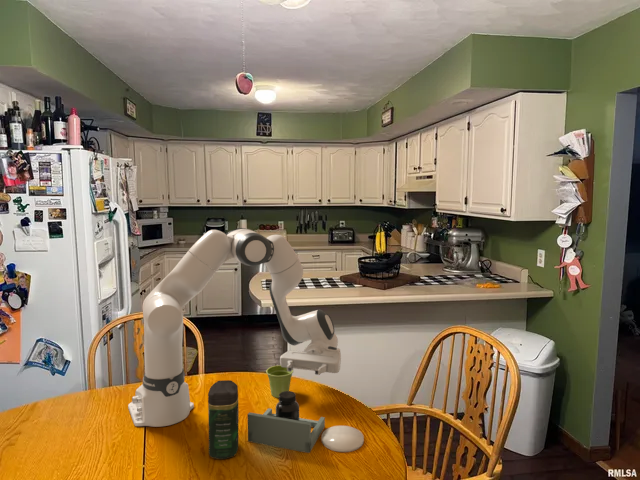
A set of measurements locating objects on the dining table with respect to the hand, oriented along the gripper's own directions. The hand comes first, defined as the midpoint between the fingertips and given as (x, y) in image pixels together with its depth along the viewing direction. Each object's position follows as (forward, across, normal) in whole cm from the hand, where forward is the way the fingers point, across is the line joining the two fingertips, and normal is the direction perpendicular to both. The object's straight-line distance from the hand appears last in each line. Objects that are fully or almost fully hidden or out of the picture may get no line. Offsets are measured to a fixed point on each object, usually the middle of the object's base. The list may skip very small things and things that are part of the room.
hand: (302, 370), depth 139 cm
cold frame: (+12, 0, +14) cm, 19 cm away
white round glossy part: (+11, +16, +14) cm, 24 cm away
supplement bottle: (+12, 0, +14) cm, 19 cm away
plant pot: (-11, -12, +14) cm, 22 cm away
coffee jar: (+26, -14, +14) cm, 32 cm away
